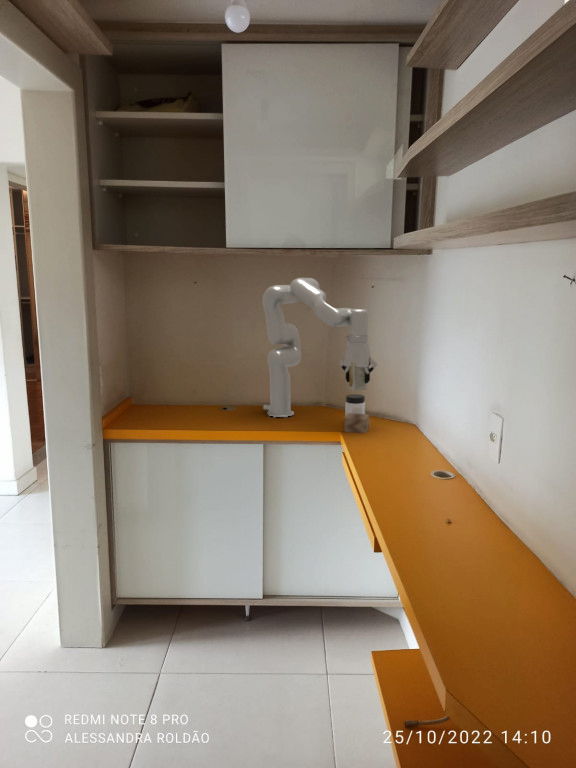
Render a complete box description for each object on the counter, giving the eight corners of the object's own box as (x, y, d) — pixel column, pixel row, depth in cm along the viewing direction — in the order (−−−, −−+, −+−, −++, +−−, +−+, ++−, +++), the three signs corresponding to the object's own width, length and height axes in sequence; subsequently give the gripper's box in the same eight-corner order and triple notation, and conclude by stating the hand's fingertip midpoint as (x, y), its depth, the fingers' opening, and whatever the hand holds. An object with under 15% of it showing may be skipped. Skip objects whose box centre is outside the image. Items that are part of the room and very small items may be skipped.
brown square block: (344, 432, 228) (344, 418, 227) (348, 426, 237) (348, 413, 236) (366, 433, 226) (366, 419, 225) (369, 428, 234) (369, 414, 233)
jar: (368, 423, 242) (369, 396, 240) (355, 426, 237) (356, 398, 235) (354, 419, 249) (354, 393, 247) (341, 422, 244) (341, 395, 242)
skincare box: (362, 388, 231) (362, 359, 229) (366, 390, 227) (367, 360, 225) (348, 389, 229) (348, 360, 227) (352, 391, 225) (352, 361, 223)
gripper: (335, 339, 225) (334, 382, 228) (376, 341, 217) (375, 385, 221) (341, 337, 231) (340, 379, 234) (381, 339, 224) (380, 382, 227)
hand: (357, 381), depth 227 cm, fingers closed on skincare box, 7 cm apart
